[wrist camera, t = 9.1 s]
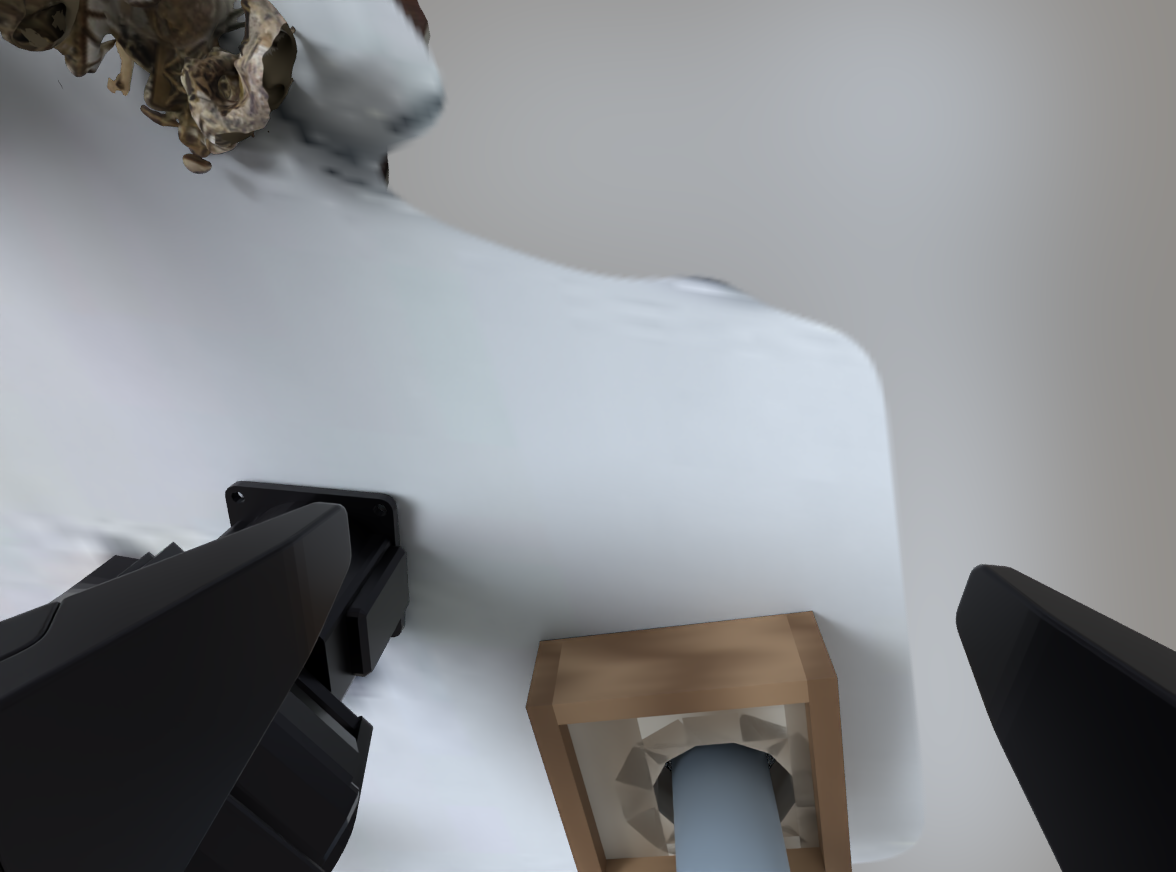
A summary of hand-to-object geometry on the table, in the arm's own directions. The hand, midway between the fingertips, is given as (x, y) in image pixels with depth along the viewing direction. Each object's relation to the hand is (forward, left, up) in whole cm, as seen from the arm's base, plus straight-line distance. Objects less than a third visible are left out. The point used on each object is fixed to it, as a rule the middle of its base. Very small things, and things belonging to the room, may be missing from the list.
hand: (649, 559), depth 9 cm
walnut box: (+4, -17, -13) cm, 22 cm away
